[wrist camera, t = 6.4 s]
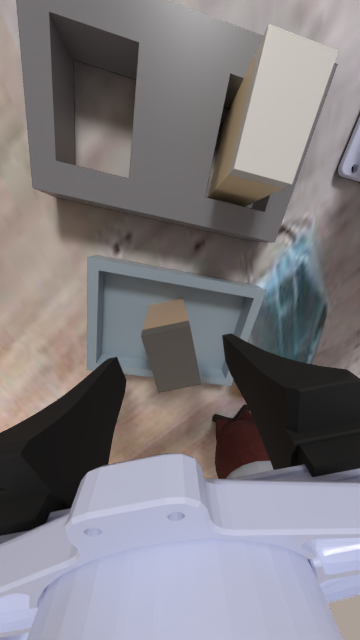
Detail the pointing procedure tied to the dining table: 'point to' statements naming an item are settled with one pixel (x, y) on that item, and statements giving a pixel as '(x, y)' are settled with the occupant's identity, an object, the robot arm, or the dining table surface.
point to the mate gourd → (239, 446)
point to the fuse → (271, 117)
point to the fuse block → (143, 107)
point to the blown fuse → (170, 346)
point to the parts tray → (154, 287)
